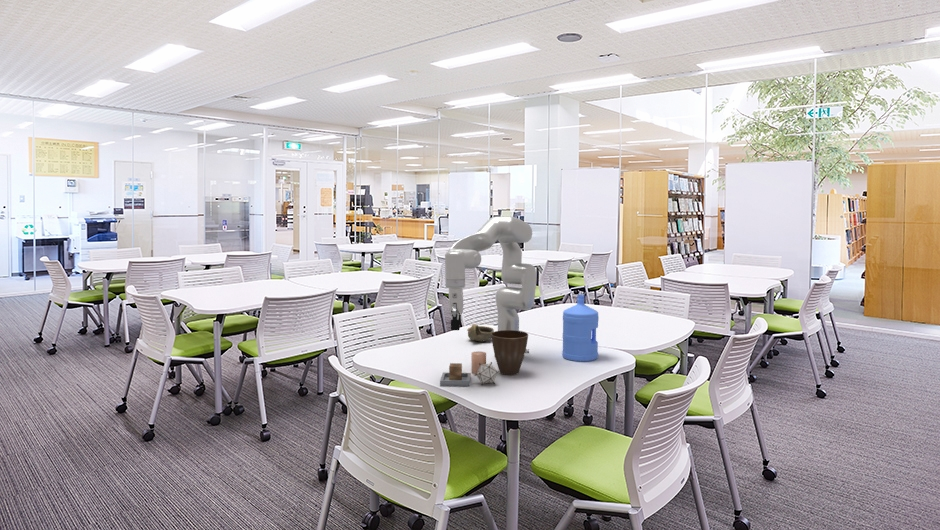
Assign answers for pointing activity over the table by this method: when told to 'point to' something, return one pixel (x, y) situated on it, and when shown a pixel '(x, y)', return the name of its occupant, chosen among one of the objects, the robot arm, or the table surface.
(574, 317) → the water jug
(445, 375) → the tray
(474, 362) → the peach round domed cylinder
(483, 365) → the game die
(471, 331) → the tan curved open container
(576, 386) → the table surface
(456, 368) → the walnut block
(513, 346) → the plant pot
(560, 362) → the table surface
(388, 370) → the table surface
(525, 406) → the table surface
